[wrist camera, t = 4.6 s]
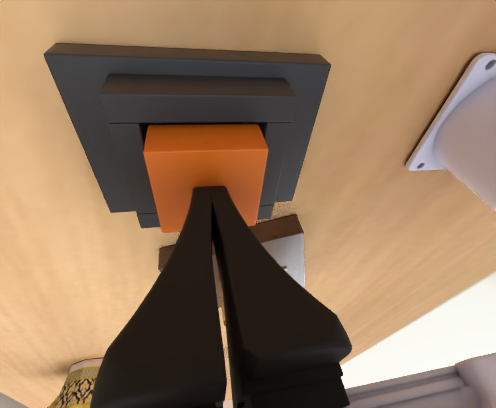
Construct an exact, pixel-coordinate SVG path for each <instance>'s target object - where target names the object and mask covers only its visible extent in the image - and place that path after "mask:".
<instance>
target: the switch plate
mask: <svg viewBox="0 0 496 408" xmlns="http://www.w3.org/2000/svg"><path fill="white" fill-rule="evenodd" d="M44 57H45V60H46V62H47V64H48V67H49V69H50V71H51V74H52V76H53V78H54V81H55V83H56V85H57V88H58V90H59V92H60V95H61V97H62V99H63V102H64V104H65V106H66V109H67V111H68V113H69V116H70V118H71V121H72V123H73V125H74V128H75V130H76V132H77V135H78V137H79V139H80V142H81V144H82V146H83V149H84V151H85V153H86V156H87V158H88V160H89V163H90V165H91V167H92V170H93V172H94V174H95V177H96V179H97V181H98V184H99V186H100V188H101V191H102V193H103V195H104V198H105V200H106V203H107V205H108V207H109V210H110V212H111V213H114V212H130V211H136V213H137V217H138V220H139V223H140V226H141V228H152V227H161V225H160V221H159V217H158V212H157V208H156V204H155V200H154V196H153V191H152V187H151V183H150V179H149V175H148V170H147V166H146V162H145V158H144V154H143V152H144V146H145V140H146V135H147V129H148V125H216V124H258V125H259V127H260V129H261V132H262V134H263V137H264V139H265V142H266V144H267V147H268V155H267V161H266V167H265V173H264V179H263V185H262V191H261V197H260V203H259V209H258V215H257V219H268V218H271V215H272V211H273V206H274V202H282V201H292V199H293V195H294V192H295V188H296V185H297V181H298V178H299V174H300V171H301V168H302V164H303V161H304V157H305V154H306V150H307V147H308V143H309V140H310V136H311V133H312V130H313V126H314V123H315V119H316V116H317V112H318V109H319V105H320V102H321V99H322V95H323V92H324V88H325V85H326V81H327V78H328V74H329V71H330V67H331V64H330V63H329V62H328V61H326V60H325V59H324V58H323V57H322V56H321V55H315V54H292V53H269V52H247V51H224V50H201V49H179V48H156V47H133V46H111V45H88V44H66V43H56V44H54V45H53V46H52V47H51V48H50V49H49V50H47V51H46V52H45V53H44Z"/></svg>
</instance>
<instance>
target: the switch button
mask: <svg viewBox="0 0 496 408" xmlns="http://www.w3.org/2000/svg"><path fill="white" fill-rule="evenodd" d="M143 154H144V158H145V162H146V166H147V170H148V175H149V179H150V183H151V187H152V191H153V196H154V200H155V204H156V208H157V212H158V217H159V221H160V225H161V229H162V232H163V233H168V232H180V231H181V230H182V228H183V225H184V222H185V219H186V216H187V214H188V210H189V207H190V203H191V198H192V189H193V188H195V187H204V186H223V185H224V186H226V187H227V190H228V192H229V194H230V196H231V198H232V200H233V202H234V204H235V206H236V208H237V209H238V211H239V213H240V214H241V216H242V218H243V219H244V221H245V222H246V224H247V225H248V226H254V225H256V221H257V215H258V209H259V203H260V197H261V191H262V185H263V179H264V173H265V167H266V161H267V155H268V147H267V144H266V142H265V139H264V137H263V134H262V132H261V129H260V127H259V125H258V124H216V125H148V129H147V135H146V140H145V146H144V152H143Z"/></svg>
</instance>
